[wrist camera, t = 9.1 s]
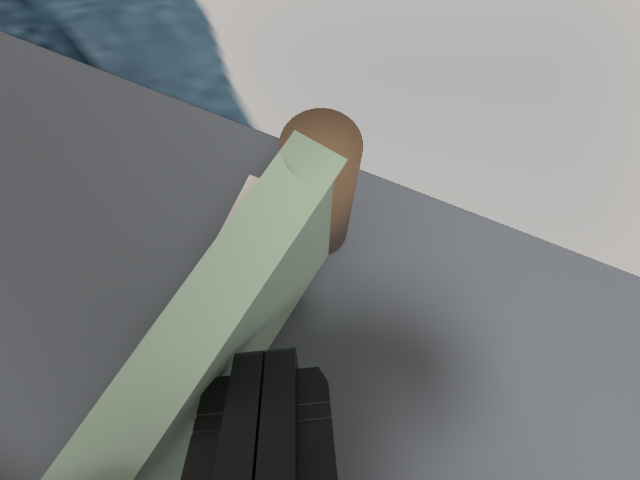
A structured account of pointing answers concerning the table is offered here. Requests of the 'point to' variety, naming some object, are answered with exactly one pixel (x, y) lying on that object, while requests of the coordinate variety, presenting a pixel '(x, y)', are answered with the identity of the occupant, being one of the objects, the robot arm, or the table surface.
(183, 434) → the green panel
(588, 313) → the card
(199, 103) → the table surface
